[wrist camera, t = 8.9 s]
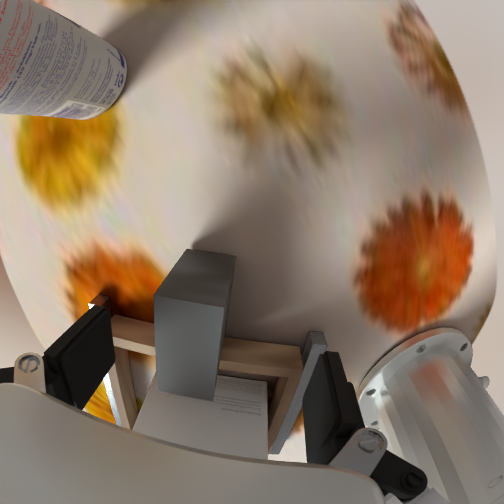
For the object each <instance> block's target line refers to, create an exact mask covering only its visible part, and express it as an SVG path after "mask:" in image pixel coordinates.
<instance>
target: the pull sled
mask: <svg viewBox="0 0 504 504" xmlns="http://www.w3.org/2000/svg"><path fill="white" fill-rule="evenodd" d="M235 258H236V256H229V255H223V254H217V253H210V252H204V251H198V250H191V249H186V251H185V252H184V253H183V255H182V256H181V257H180V259H179V260H178V262H177V263H176V264H175V266H174V267H173V268H172V270H171V271H170V273H169V274H168V275H167V277H166V278H165V280H164V281H163V282H162V284H161V285H160V287H159V288H158V289H157V291H156V292H155V294H154V323H149V322H145V321H140V320H136V319H132V318H128V317H124V316H120V315H116V314H115V315H114V316H113V317H112V318H111V328H112V336H113V343H114V350H115V357H116V358H115V363H114V365H113V366H112V367H111V369H110V370H109V372H108V375H109V380H110V384H111V388H112V392H113V396H114V399H115V403H116V406H117V410H118V413H119V417H120V420H121V423H122V426H123V427H124V428H127V429H130V430H132V429H133V427H134V424H135V422H136V420H137V417H138V415H139V413H138V409H137V404H136V399H135V393H134V388H133V382H132V376H131V370H130V363H129V356H128V350H132V351H135V352H139V353H143V354H147V355H151V356H156V370H157V382H158V390H160V391H164V392H168V393H173V394H177V395H182V396H187V397H192V398H197V399H203V400H208V401H213V399H214V393H215V388H216V382H217V376H218V370H219V369H222V370H229V371H236V372H243V373H251V374H259V375H268V376H278V377H279V378H278V381H277V384H276V387H275V390H274V393H273V396H272V399H271V402H270V405H269V408H268V411H267V418H268V454H269V452H270V450H271V448H272V445H273V443H274V441H275V439H276V437H277V434H278V432H279V430H280V427H281V425H282V423H283V420H284V418H285V416H286V413H287V411H288V408H289V406H290V403H291V401H292V398H293V396H294V393H295V391H296V388H297V386H298V383H299V380H300V378H301V375H302V372H303V364H302V359H301V353H300V348H299V346H290V345H281V344H272V343H264V342H256V341H249V340H242V339H235V338H228V337H225V329H226V322H227V315H228V307H229V300H230V293H231V286H232V279H233V272H234V265H235Z"/></svg>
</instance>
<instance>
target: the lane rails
mask: <svg viewBox="0 0 504 504" xmlns="http://www.w3.org/2000/svg"><path fill="white" fill-rule="evenodd" d="M94 305H98V306H101V307H104V308H106V309H107V312H109V313H110V319H111V318H112V317H111V308H110V297H108V296H104V295H100V294H98V295H97V296H96V297H95V298H94V299H93V300H92V301H91V302H90V303H89V309H90V308H91V307H92V306H94ZM326 347H327V343H326V340H325V337H324V334H323V332H314V331H310V332H309V335H308V338H307V341H306V344H305V347H304V350H303V353H302V356H301V359H302V364H303V372H302V375H301V378H300V380H299V383H298V386H297V388H296V391H295V393H294V396H293V398H292V401H291V403H290V406H289V408H288V411H287V413H286V416H285V418H284V420H283V423H282V425H281V427H280V430H279V432H278V434H277V437H276V439H275V441H274V443H273V445H272V448H271V450H270V452H269V454H279V453H280V451H281V449H282V447H283V445H284V443H285V441H286V439H287V437H288V435H289V433H290V431H291V429H292V427H293V425H294V423H295V421H296V418H297V416H298V414H299V412H300V410H301V407H302V400H303V395H304V393H305V390H306V388H307V386H308V383H309V380H310V378H311V375H312V373H313V370H314V368H315V365H316V362H317V360H318V357H319V355H320V354H324V352H325V350H326ZM104 383H105V387H106V391H107V394H108V398H109V401H110V405H111V408H112V411H113V414H114V417H115V420H116V423H117V425H119V426H122V423H121V420H120V417H119V413H118V410H117V406H116V403H115V399H114V396H113V392H112V388H111V384H110V380H109V375H108V373H107V375H106V376H105V377H104ZM122 427H123V426H122Z"/></svg>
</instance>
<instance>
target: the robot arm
mask: <svg viewBox="0 0 504 504" xmlns="http://www.w3.org/2000/svg"><path fill="white" fill-rule="evenodd" d="M472 355H473V354H472V346H471V343H470V341H469V340H468V338H467V337H466V336H465V335H464V334H463V333H462V332H460V331H459V330H457V329H454V328H443V327H442V328H437V329H432V330H429V331H426V332H423V333H421V334H418V335H416V336H414V337H412V338H410V339H408V340H407V341H405V342H404V343H402V344H400V345H399V346H397V347H396V348H394V349H393V350H392V351H391V352H389V353H388V354H387V355H386V356H384V357H383V358H382V359H381V360H380V361H379V362H378V363H377V364H376V365H375V366H374V367H373V368H372V369H371V371H370V372H369V373H368V374H367V376H366V377H365V378H364V380H363V381H362V383H361V385H360V386H359V388H358V391H357V394H356V393H355V390H354V387H353V384H352V383H351V382H347V379H346V376H345V372H344V369H343V366H342V362H341V359H340V356H339V353H338V352H330V351H325V352H324V354H320V355H319V357H318V360H317V362H316V365H315V368H314V370H313V373H312V375H311V378H310V380H309V383H308V386H307V388H306V390H305V393H304V395H303V400H302V406H303V417H304V429H305V442H306V456H307V463H300V462H285V461H274V460H264V459H256V458H248V457H240V456H234V455H227V454H222V453H216V452H211V451H206V450H201V449H197V448H192V447H188V446H184V445H180V444H176V443H172V442H168V441H165V440H161V439H158V438H154V437H151V436H148V435H145V434H142V433H139V432H136V431H133V430H130V429H127V428H124V427H121V426H119V425H116V424H113V423H111V422H108V421H106V420H103V419H101V418H98V417H96V416H94V415H91V414H89V413H87V412H84V411H82V410H83V408H84V407H85V405H86V404H87V402H88V401H89V399H90V398H91V396H92V395H93V393H94V392H95V390H96V389H97V388H98V386H99V385H100V383H101V382H102V380H103V379H104V377H105V376H106V375H107V373H108V372H109V370H110V369H111V367H112V366H113V365H114V363H115V358H116V357H115V350H114V343H113V336H112V328H111V319H110V313H109V312H107V309H106V308H104V307H101V306H98V305H94V306H92V307H91V308H90V309H89V310H88V311H87V312H86V313H85V314H84V315H83V316H81V317H80V318H79V319H78V320H77V321H76V322H75V323H74V324H73V325H72V326H71V327H70V328H69V329H68V330H67V331H66V332H64V333H63V334H62V335H61V336H60V337H59V338H58V339H57V340H56V341H55V342H54V343H53V344H52V345H51V346H50V347H49V348H48V349H47V350H46V351H45V352H44V356H43V357H41V356H40V355H38V354H36V353H25V354H23V355H21V356H19V357H18V358H17V360H16V361H15V366H14V367H9V368H2V369H0V504H504V416H503V414H502V413H501V411H500V410H499V408H498V407H497V405H496V404H495V402H494V401H493V399H492V398H491V397H490V395H489V394H488V392H487V391H486V390H485V388H487V387H488V385H489V378H488V377H487V376H483V377H477V375H476V374H475V373H474V371H473V370H472V369H471V367H470V365H471V361H472ZM365 425H366V426H368V427H370V428H365ZM377 429H381V432H380V431H379V430H377Z"/></svg>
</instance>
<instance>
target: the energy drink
mask: <svg viewBox="0 0 504 504" xmlns="http://www.w3.org/2000/svg"><path fill="white" fill-rule="evenodd" d="M126 75H127V63H126V59H125V57H124V55H123V53H122V52H121V51H120V50H119V49H117V48H116V47H114V46H113V45H111V44H110V43H108V42H106V41H105V40H103V39H102V38H100V37H98V36H97V35H95V34H93V33H92V32H90V31H88V30H87V29H85V28H83V27H82V26H80V25H78V24H76V23H75V22H73V21H71V20H69V19H68V18H66V17H64V16H62V15H60V14H58V13H57V12H55V11H53V10H51V9H49V8H47V7H45V6H43V5H41V4H39V3H37V2H35V1H33V0H0V114H17V115H36V116H50V117H61V118H71V119H80V120H87V119H92V118H94V117H97V116H99V115H100V114H102V113H104V112H105V111H106V110H107V109H108V108H109V107H110V106H111V105H112V104H113V103H114V102H115V101H116V99H117V98H118V96H119V95H120V93H121V91H122V89H123V87H124V84H125V81H126Z"/></svg>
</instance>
